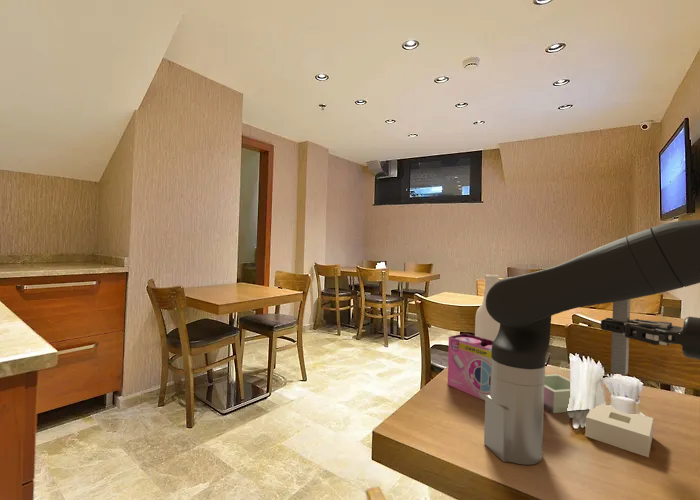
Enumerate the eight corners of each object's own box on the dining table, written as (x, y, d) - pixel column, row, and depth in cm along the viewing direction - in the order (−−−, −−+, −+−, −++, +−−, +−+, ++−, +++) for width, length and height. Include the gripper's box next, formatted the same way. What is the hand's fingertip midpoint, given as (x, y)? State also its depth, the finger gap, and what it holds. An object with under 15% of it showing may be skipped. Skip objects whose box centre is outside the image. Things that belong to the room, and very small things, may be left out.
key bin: (553, 413, 82) (554, 392, 82) (524, 394, 92) (525, 375, 92) (589, 410, 84) (590, 389, 84) (557, 392, 94) (558, 374, 94)
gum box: (549, 413, 82) (551, 355, 82) (531, 422, 78) (533, 361, 78) (464, 379, 102) (465, 332, 102) (446, 384, 98) (447, 336, 97)
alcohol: (483, 365, 114) (486, 273, 113) (510, 373, 107) (513, 275, 106) (468, 371, 108) (471, 274, 108) (495, 380, 102) (498, 277, 101)
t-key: (623, 377, 70) (625, 287, 70) (608, 374, 72) (611, 286, 71) (630, 370, 74) (632, 285, 73) (616, 367, 76) (618, 284, 75)
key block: (648, 457, 65) (649, 436, 65) (585, 436, 72) (585, 417, 72) (652, 437, 73) (653, 418, 73) (594, 419, 80) (595, 402, 80)
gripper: (724, 316, 66) (612, 302, 79) (719, 326, 57) (594, 309, 70) (722, 355, 66) (611, 335, 79) (717, 371, 57) (592, 346, 70)
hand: (603, 323), depth 75 cm, fingers closed on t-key, 2 cm apart
